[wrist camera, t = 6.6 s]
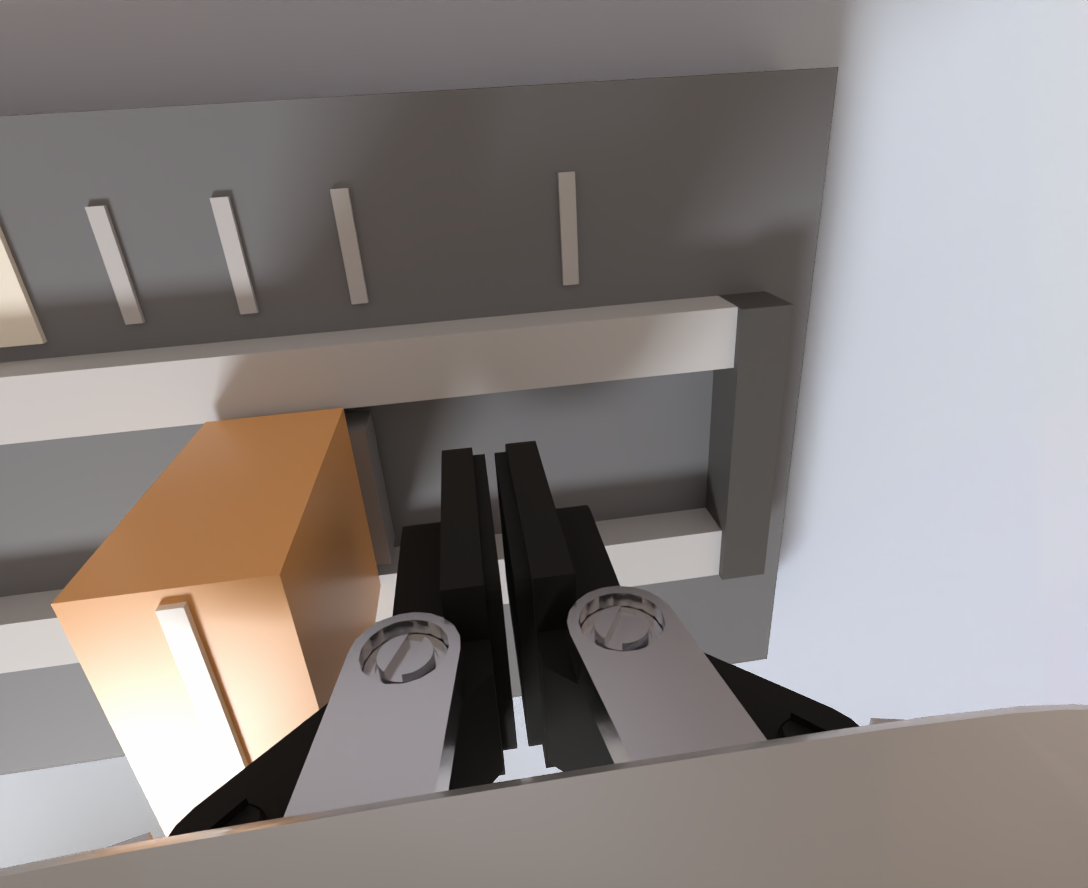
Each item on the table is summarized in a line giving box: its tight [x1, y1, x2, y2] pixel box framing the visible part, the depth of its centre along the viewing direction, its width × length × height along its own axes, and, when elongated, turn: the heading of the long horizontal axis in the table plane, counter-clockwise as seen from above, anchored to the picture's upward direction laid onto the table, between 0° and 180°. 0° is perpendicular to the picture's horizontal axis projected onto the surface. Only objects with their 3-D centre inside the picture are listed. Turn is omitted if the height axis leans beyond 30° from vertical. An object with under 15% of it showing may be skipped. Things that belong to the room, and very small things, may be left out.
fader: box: [51, 408, 395, 837], centre depth 11 cm, size 3×4×6 cm
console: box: [0, 67, 838, 775], centre depth 14 cm, size 22×14×3 cm, turn 93°
